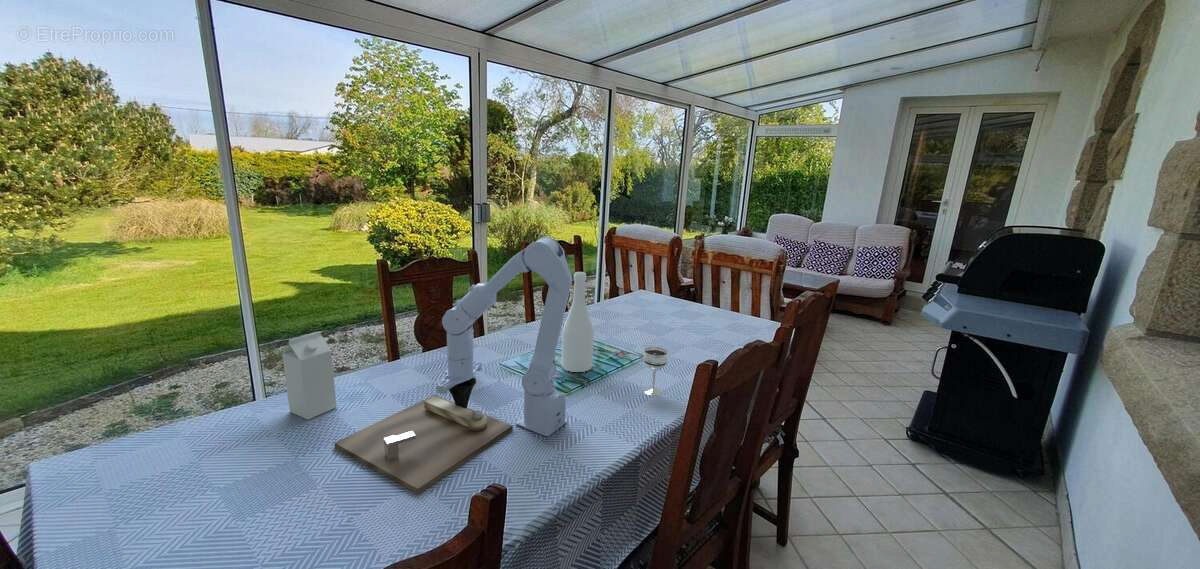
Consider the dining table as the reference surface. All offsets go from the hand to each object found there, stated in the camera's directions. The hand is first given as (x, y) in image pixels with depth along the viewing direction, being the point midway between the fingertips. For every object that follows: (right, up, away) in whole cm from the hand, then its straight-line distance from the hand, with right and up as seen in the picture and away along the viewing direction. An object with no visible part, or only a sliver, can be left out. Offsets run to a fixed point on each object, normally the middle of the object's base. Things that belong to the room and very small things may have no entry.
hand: (461, 408), depth 110 cm
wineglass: (+48, 0, +18) cm, 51 cm away
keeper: (-7, -5, -17) cm, 19 cm away
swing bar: (-1, -1, -3) cm, 3 cm away
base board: (-5, -4, -9) cm, 11 cm away
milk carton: (-36, -1, 0) cm, 36 cm away
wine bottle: (+26, +4, +31) cm, 41 cm away
